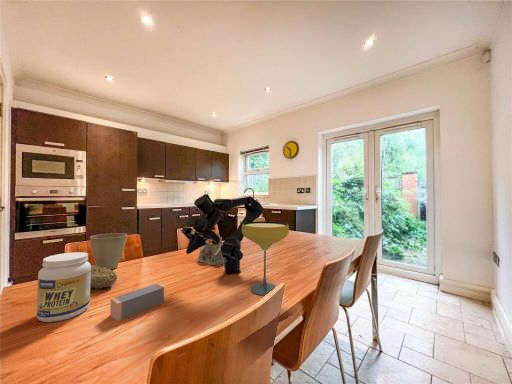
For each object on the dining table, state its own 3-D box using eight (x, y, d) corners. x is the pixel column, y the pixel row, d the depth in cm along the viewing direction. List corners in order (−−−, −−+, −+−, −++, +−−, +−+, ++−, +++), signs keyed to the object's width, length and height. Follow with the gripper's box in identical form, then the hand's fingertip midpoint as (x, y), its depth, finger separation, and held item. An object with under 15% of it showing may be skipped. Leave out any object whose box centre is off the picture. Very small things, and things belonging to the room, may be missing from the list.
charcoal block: (156, 283, 76) (110, 298, 65) (164, 287, 73) (117, 303, 62) (155, 298, 76) (110, 315, 65) (163, 302, 73) (117, 321, 62)
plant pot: (127, 270, 104) (128, 236, 105) (88, 276, 96) (88, 239, 96) (125, 262, 117) (125, 231, 117) (90, 266, 108) (90, 234, 109)
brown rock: (73, 284, 90) (71, 290, 75) (79, 264, 93) (77, 266, 77) (111, 283, 98) (116, 289, 82) (115, 264, 100) (120, 267, 85)
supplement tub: (26, 328, 58) (28, 264, 59) (48, 307, 69) (49, 253, 70) (83, 318, 63) (84, 259, 64) (94, 300, 74) (96, 249, 75)
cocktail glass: (245, 279, 94) (246, 220, 95) (288, 281, 92) (288, 221, 92) (236, 298, 76) (237, 226, 77) (288, 302, 74) (289, 228, 74)
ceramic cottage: (198, 256, 127) (200, 231, 127) (227, 257, 130) (228, 232, 129) (194, 267, 112) (196, 238, 111) (227, 267, 114) (228, 239, 113)
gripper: (184, 208, 94) (160, 237, 85) (214, 209, 83) (189, 244, 74) (199, 224, 100) (178, 254, 91) (229, 228, 89) (207, 262, 80)
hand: (187, 253), depth 84 cm, fingers closed
